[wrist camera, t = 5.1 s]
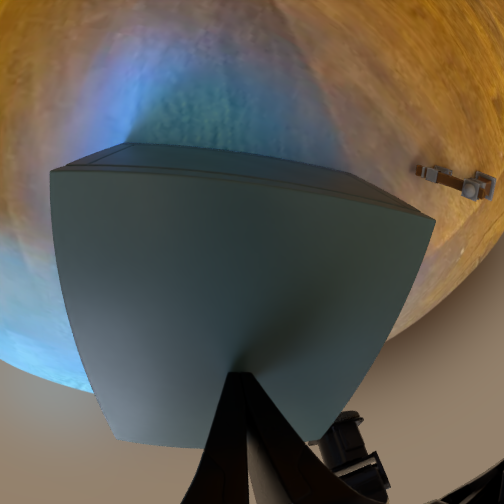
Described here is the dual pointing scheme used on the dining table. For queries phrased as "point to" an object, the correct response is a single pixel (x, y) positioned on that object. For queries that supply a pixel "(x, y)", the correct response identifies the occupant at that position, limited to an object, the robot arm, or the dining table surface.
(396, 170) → the dining table surface
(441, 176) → the toy rocket launcher
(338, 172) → the chest
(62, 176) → the lid
